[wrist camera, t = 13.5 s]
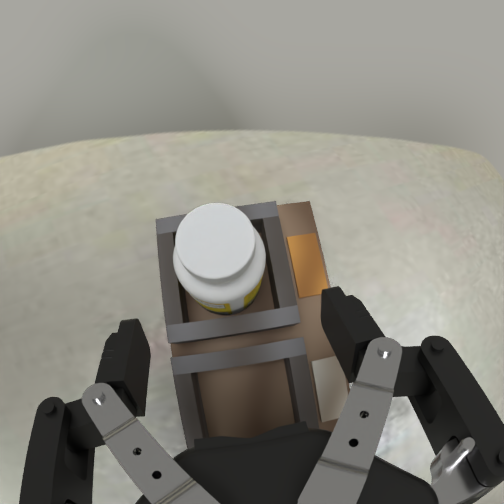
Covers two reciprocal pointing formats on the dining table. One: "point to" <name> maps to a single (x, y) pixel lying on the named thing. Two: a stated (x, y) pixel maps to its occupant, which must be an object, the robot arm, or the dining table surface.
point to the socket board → (256, 337)
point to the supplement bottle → (219, 258)
